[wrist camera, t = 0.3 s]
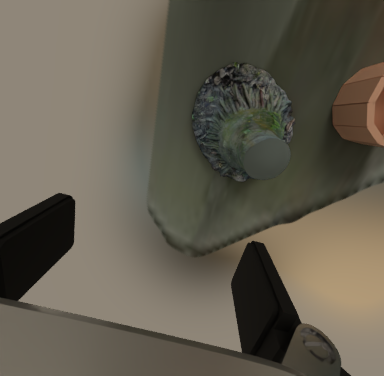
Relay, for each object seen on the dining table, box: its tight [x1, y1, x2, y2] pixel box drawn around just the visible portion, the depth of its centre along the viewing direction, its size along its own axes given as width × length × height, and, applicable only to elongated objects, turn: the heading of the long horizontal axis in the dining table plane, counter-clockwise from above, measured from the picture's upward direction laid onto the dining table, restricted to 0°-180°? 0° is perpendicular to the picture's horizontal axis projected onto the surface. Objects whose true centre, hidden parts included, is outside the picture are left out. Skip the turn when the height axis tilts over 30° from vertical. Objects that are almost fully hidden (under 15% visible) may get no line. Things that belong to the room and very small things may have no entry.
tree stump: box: [192, 62, 295, 182], centre depth 32 cm, size 18×20×18 cm
